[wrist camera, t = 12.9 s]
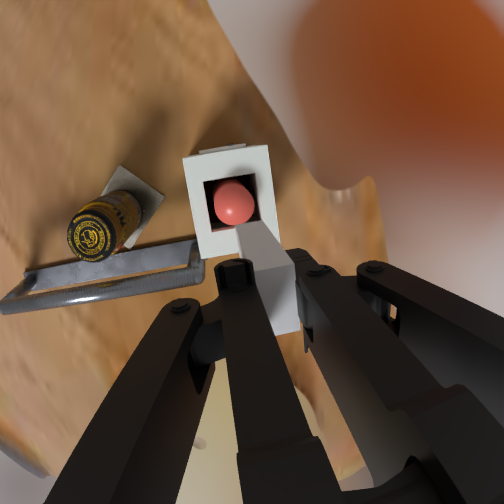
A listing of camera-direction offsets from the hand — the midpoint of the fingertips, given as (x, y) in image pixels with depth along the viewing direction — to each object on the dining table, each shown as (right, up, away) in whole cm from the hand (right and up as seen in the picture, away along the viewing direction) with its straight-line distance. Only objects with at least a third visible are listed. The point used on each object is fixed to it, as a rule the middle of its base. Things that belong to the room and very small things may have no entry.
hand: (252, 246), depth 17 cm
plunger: (-3, +7, +20) cm, 22 cm away
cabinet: (-3, +8, +23) cm, 24 cm away
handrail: (-20, -2, +24) cm, 31 cm away
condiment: (-16, +5, +22) cm, 28 cm away
